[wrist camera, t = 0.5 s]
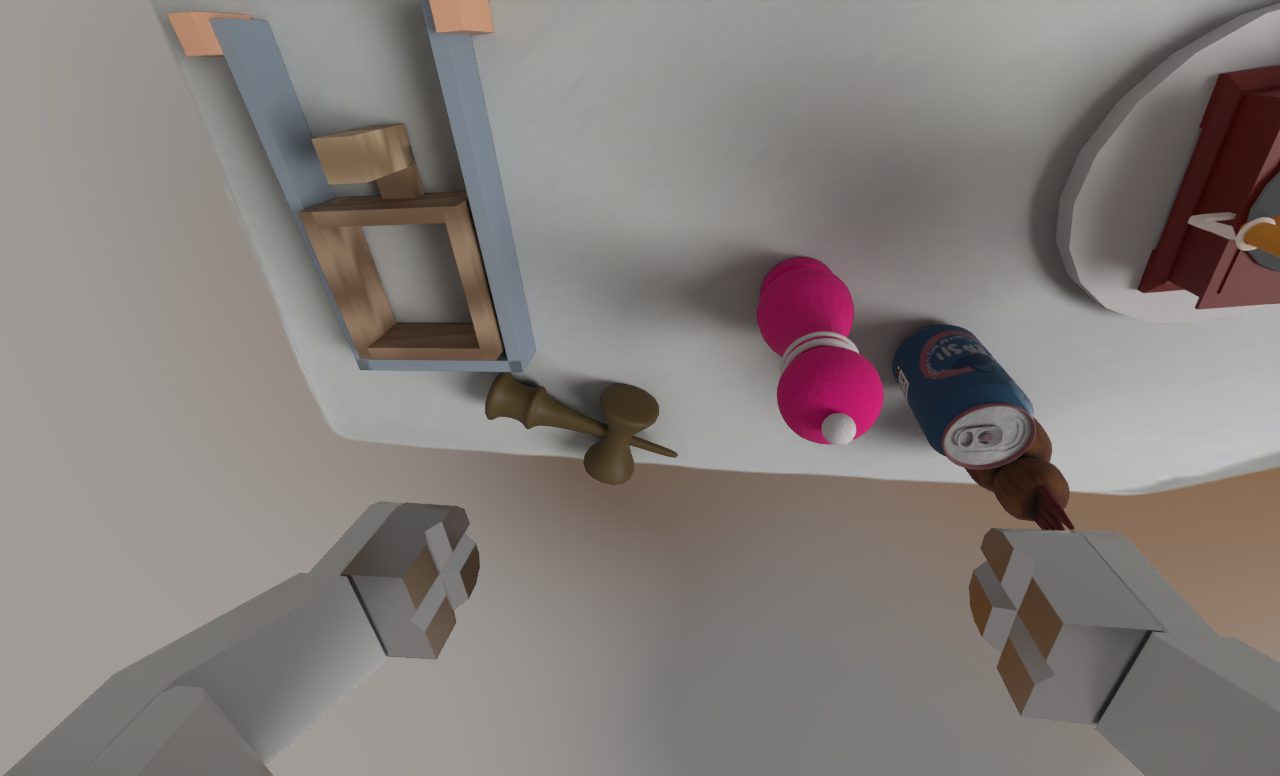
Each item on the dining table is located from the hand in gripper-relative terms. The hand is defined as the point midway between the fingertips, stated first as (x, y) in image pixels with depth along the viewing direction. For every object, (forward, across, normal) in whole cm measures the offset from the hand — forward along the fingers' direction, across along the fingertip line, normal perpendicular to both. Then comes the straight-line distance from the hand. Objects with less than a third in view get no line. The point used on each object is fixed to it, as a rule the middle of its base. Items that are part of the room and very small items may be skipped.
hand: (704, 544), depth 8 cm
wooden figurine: (+39, -24, +21) cm, 51 cm away
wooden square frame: (+37, +26, +2) cm, 45 cm away
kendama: (+39, +14, +21) cm, 46 cm away
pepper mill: (+38, -6, +8) cm, 39 cm away
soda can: (+38, -18, +14) cm, 45 cm away
